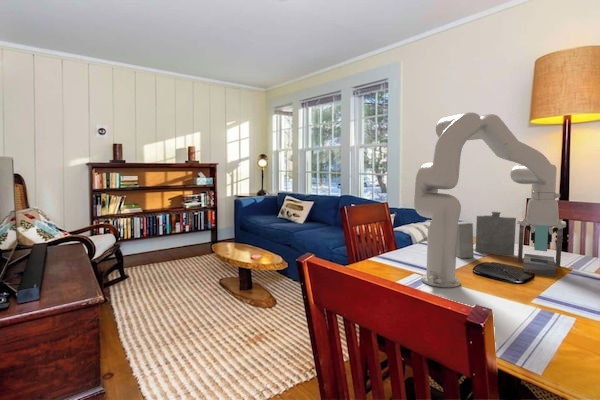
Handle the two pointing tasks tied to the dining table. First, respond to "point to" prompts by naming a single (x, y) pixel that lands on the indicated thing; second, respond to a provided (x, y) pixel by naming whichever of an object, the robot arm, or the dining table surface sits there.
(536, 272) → the socket stand
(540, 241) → the peg
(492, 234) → the hip flask
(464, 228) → the skincare box
